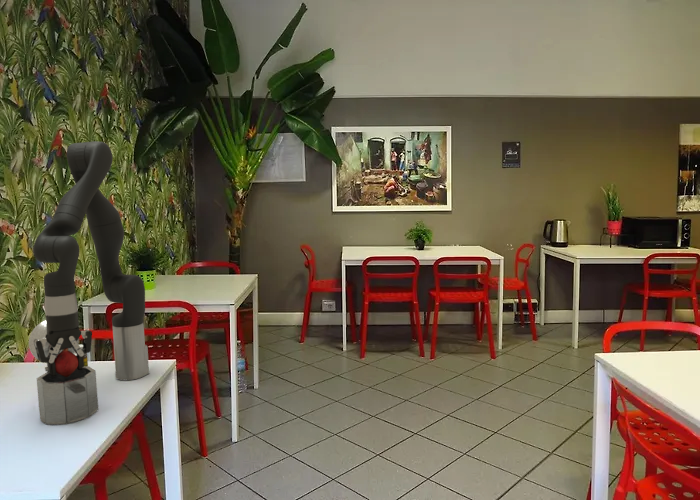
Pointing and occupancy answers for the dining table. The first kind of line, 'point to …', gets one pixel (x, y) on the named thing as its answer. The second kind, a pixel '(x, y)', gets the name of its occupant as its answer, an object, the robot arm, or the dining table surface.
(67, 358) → the onion
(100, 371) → the dining table surface
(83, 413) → the pot
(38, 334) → the lid
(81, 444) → the dining table surface
